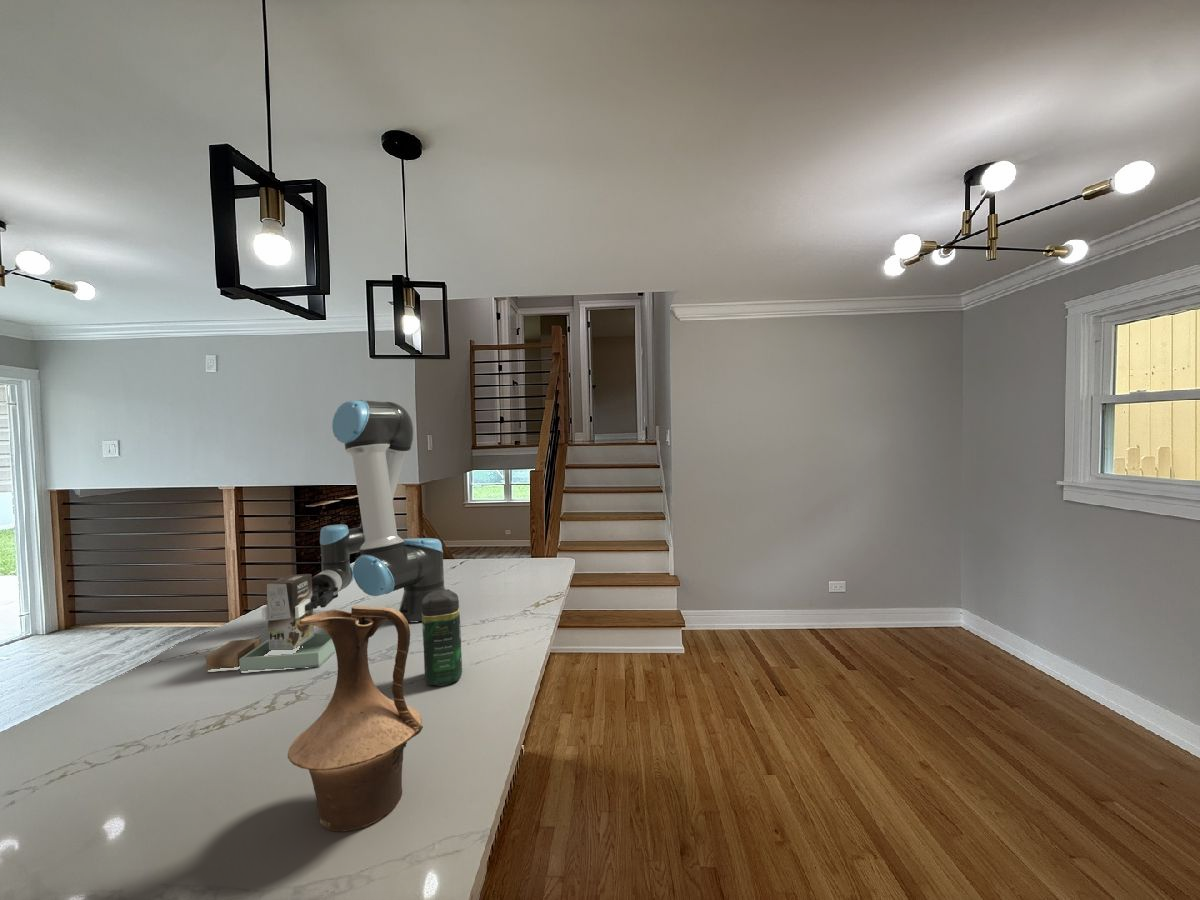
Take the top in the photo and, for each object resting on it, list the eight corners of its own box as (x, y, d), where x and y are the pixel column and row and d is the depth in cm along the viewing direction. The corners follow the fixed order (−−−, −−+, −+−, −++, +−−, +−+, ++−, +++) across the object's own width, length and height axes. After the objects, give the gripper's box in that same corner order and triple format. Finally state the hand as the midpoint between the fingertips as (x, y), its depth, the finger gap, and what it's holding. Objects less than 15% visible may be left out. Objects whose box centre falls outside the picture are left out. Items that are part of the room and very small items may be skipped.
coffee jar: (463, 683, 113) (459, 596, 113) (424, 690, 111) (419, 601, 111) (462, 665, 123) (457, 585, 122) (426, 671, 120) (421, 589, 120)
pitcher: (441, 764, 85) (431, 587, 84) (406, 845, 68) (393, 624, 67) (328, 772, 84) (317, 594, 84) (263, 856, 67) (249, 633, 67)
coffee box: (294, 650, 128) (291, 582, 128) (268, 650, 128) (264, 583, 128) (315, 636, 137) (312, 573, 137) (290, 636, 137) (287, 573, 137)
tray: (343, 644, 141) (342, 631, 140) (319, 667, 126) (318, 652, 126) (273, 650, 139) (272, 636, 139) (240, 674, 125) (239, 659, 124)
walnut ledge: (261, 654, 137) (260, 638, 137) (238, 670, 127) (237, 653, 127) (232, 656, 136) (231, 640, 136) (206, 673, 126) (205, 656, 126)
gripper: (359, 598, 151) (324, 626, 128) (286, 602, 150) (237, 632, 127) (358, 571, 151) (322, 595, 128) (284, 575, 150) (235, 600, 127)
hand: (280, 613), depth 128 cm, fingers closed on coffee box, 7 cm apart
